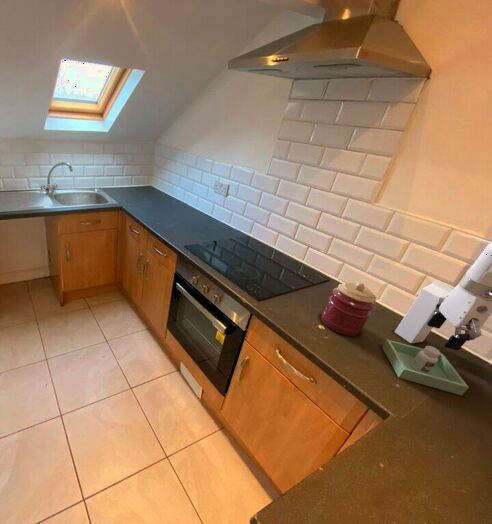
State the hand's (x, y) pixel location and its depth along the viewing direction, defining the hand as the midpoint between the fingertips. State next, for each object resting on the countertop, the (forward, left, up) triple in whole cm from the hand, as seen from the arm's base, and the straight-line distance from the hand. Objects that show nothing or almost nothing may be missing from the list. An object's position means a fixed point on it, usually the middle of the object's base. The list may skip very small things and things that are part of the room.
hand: (441, 337), depth 86 cm
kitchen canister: (+19, -14, -13) cm, 27 cm away
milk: (-4, -18, -13) cm, 22 cm away
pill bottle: (0, 0, -13) cm, 13 cm away
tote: (0, 0, -13) cm, 13 cm away
